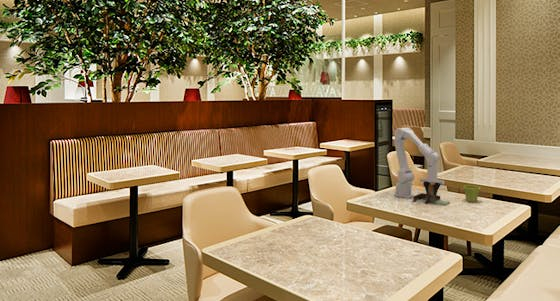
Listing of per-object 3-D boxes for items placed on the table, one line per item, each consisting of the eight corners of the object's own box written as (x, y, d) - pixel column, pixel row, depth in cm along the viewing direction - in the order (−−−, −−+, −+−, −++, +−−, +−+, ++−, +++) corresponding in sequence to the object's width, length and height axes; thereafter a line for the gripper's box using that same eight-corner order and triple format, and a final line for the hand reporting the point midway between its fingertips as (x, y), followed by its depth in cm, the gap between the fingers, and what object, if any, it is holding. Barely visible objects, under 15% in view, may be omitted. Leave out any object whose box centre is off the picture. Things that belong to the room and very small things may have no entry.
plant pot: (477, 203, 254) (478, 189, 252) (461, 201, 259) (461, 187, 258) (481, 200, 261) (482, 186, 260) (465, 198, 267) (465, 184, 266)
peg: (426, 197, 259) (427, 185, 258) (429, 196, 262) (430, 183, 261) (433, 198, 256) (433, 185, 255) (436, 197, 259) (436, 184, 258)
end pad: (433, 203, 255) (433, 202, 255) (438, 201, 260) (438, 199, 260) (445, 205, 250) (445, 203, 250) (449, 203, 256) (449, 201, 255)
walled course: (413, 201, 260) (413, 196, 259) (421, 198, 268) (421, 192, 268) (432, 205, 252) (432, 199, 251) (440, 201, 260) (440, 195, 260)
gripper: (417, 172, 259) (417, 194, 261) (441, 174, 249) (440, 197, 251) (422, 170, 264) (422, 192, 266) (446, 173, 255) (445, 195, 256)
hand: (431, 194), depth 259 cm, fingers closed on peg, 4 cm apart
